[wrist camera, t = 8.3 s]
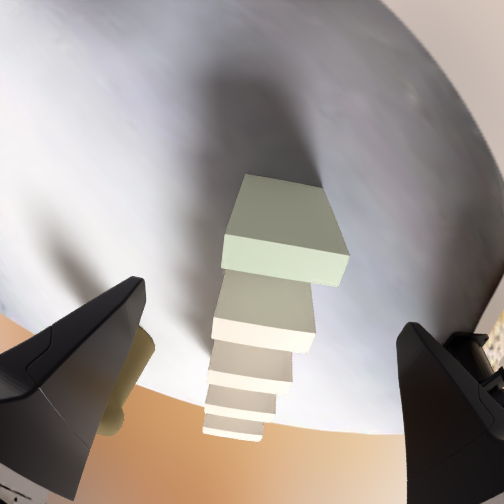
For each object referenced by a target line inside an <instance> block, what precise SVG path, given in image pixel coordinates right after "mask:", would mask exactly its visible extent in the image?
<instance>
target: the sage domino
mask: <svg viewBox="0 0 504 504" xmlns="http://www.w3.org/2000/svg"><path fill="white" fill-rule="evenodd" d="M349 257H350V255H349V252H348V249H347V246H346V244H345V241H344V238H343V236H342V233H341V231H340V228H339V226H338V223H337V221H336V218H335V216H334V213H333V211H332V208H331V206H330V203H329V201H328V199H327V196H326V194H325V191H324V189H323V188H319V187H314V186H310V185H305V184H300V183H295V182H289V181H284V180H279V179H273V178H267V177H262V176H256V175H250V174H245V176H244V179H243V182H242V185H241V188H240V191H239V194H238V196H237V199H236V202H235V205H234V208H233V211H232V214H231V217H230V220H229V223H228V226H227V229H226V232H225V236H224V245H223V253H222V262H221V268H224V269H230V270H236V271H242V272H247V273H253V274H259V275H265V276H271V277H278V278H284V279H290V280H296V281H302V282H309V283H315V284H321V285H328V286H334V287H338V286H339V283H340V281H341V278H342V276H343V273H344V270H345V268H346V265H347V263H348V260H349Z"/></svg>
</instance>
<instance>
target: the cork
mask: <svg viewBox="0 0 504 504" xmlns="http://www.w3.org/2000/svg"><path fill="white" fill-rule="evenodd" d="M154 351H155V344H154V342H153V340H152V338H151V337H150V336H149V334H148V333H147V332H146V331H144V330H143V329H142V328H141V327H139V326H138V328H137V331H136V334H135V338H134V341H133V343H132V346H131V348H130V351H129V353H128V355H127V357H126V360H125V362H124V364H123V367H122V369H121V371H120V374H119V376H118V379H117V381H116V383H115V386H114V388H113V391H112V393H111V396H110V398H109V401H108V403H107V406H106V408H105V411H104V413H103V416H102V419H101V421H100V424H99V426H98V429H97V432H96V433H97V434H100V435H104V436H112V435H114V434H116V433H117V432H118V431H119V430H120V428H121V427H122V424H123V421H124V413H123V410H122V406H123V404H124V403H125V401H126V399H127V397H128V396H129V394H130V392H131V390H132V389H133V387H134V385H135V383H136V382H137V380H138V378H139V377H140V375H141V373H142V371H143V370H144V368H145V366H146V364H147V363H148V361H149V359H150V358H151V356H152V354H153V353H154Z"/></svg>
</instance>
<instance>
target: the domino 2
mask: <svg viewBox="0 0 504 504" xmlns="http://www.w3.org/2000/svg"><path fill="white" fill-rule="evenodd" d="M207 383H208V384H213V385H218V386H224V387H230V388H236V389H242V390H248V391H255V392H263V393H270V394H279V395H286V394H287V392H288V390H289V388H290V386H291V384H292V352H290V351H283V350H276V349H269V348H262V347H256V346H250V345H244V344H238V343H232V342H227V341H222V340H216V339H215V341H214V346H213V350H212V355H211V359H210V364H209V368H208V377H207Z"/></svg>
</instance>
